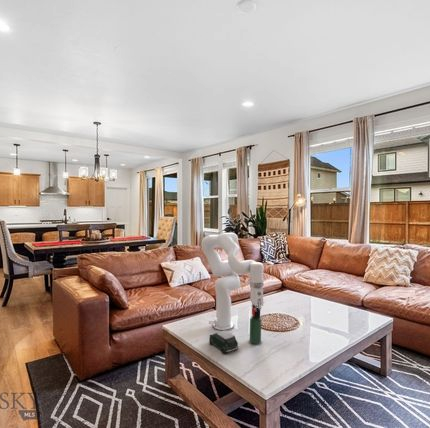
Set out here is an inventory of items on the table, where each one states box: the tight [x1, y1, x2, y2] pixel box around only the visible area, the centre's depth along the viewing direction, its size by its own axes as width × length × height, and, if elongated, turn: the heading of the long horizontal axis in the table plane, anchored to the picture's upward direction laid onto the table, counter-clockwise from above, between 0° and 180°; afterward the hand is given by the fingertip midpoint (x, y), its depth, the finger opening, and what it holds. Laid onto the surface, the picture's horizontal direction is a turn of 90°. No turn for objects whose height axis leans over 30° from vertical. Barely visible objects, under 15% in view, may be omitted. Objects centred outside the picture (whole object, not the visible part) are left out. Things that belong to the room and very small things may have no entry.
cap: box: [251, 307, 255, 316], centre depth 168 cm, size 4×4×4 cm
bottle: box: [249, 315, 262, 344], centre depth 168 cm, size 6×6×18 cm
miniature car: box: [208, 330, 240, 354], centre depth 163 cm, size 9×18×8 cm, turn 39°
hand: (255, 316), depth 168 cm, fingers closed on cap, 3 cm apart
